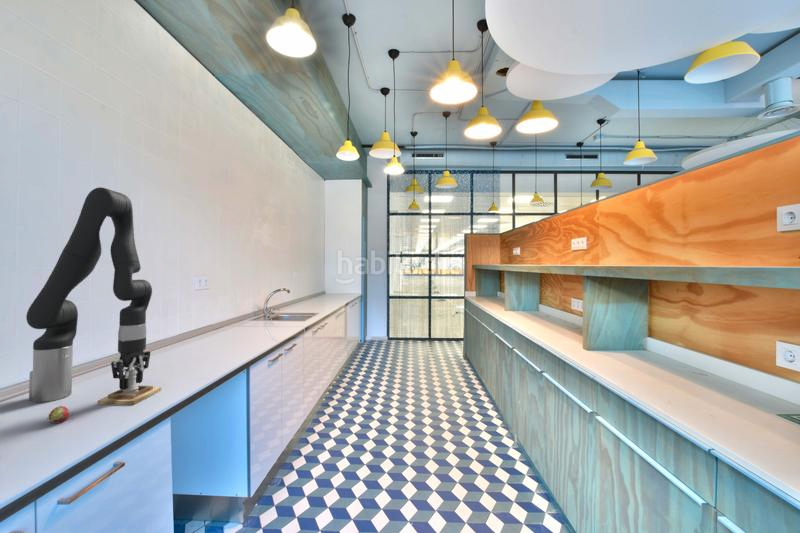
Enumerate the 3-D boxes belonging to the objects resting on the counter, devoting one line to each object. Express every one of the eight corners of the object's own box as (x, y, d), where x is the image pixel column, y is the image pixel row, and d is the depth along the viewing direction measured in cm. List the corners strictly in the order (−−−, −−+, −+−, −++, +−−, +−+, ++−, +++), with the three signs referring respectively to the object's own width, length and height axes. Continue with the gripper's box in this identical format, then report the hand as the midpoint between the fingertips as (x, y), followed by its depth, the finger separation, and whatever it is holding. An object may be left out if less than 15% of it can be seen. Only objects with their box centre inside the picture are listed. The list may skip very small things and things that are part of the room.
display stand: (97, 404, 105) (97, 396, 105) (128, 390, 117) (128, 383, 117) (134, 404, 105) (134, 397, 105) (161, 390, 117) (161, 384, 117)
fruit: (74, 415, 97) (74, 399, 97) (64, 424, 91) (65, 407, 91) (55, 418, 95) (55, 401, 95) (44, 427, 89) (44, 410, 89)
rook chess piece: (125, 391, 112) (126, 368, 112) (140, 390, 114) (142, 367, 114) (119, 396, 108) (121, 372, 108) (136, 394, 110) (137, 371, 110)
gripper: (138, 332, 118) (137, 378, 118) (102, 341, 104) (101, 393, 104) (158, 333, 118) (157, 378, 118) (125, 342, 104) (124, 394, 104)
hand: (131, 385), depth 111 cm, fingers open, 5 cm apart
